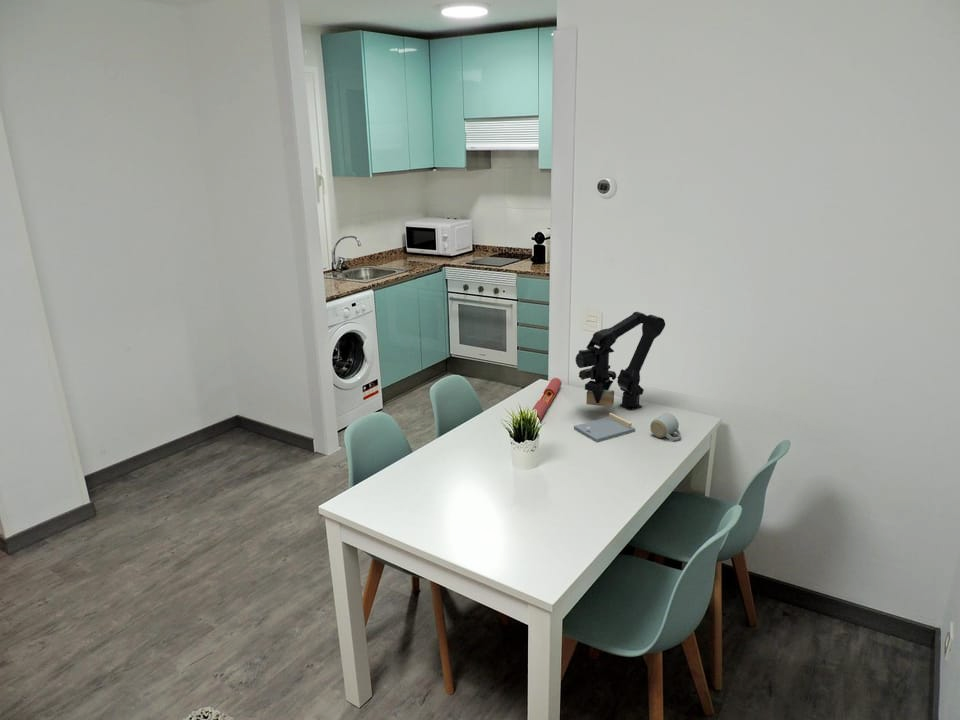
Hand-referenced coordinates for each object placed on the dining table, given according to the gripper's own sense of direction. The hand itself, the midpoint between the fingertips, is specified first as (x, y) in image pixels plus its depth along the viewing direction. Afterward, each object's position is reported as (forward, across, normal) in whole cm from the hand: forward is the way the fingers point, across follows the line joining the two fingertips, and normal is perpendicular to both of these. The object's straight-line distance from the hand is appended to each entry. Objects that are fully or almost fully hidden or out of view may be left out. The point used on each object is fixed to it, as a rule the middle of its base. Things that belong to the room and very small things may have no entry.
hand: (600, 400), depth 263 cm
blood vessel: (+6, +2, -24) cm, 24 cm away
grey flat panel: (+5, +15, +8) cm, 17 cm away
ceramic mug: (+6, +9, +30) cm, 32 cm away
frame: (+1, 0, 0) cm, 1 cm away
